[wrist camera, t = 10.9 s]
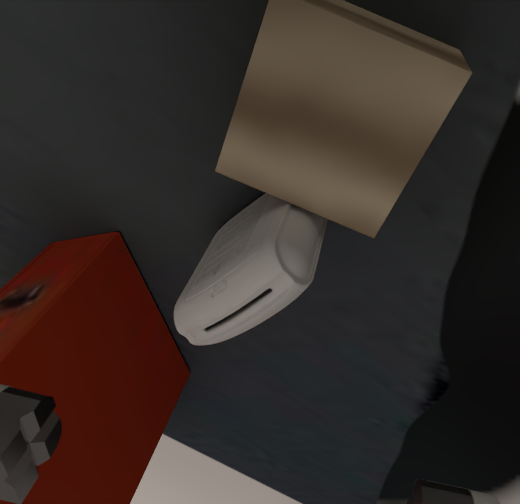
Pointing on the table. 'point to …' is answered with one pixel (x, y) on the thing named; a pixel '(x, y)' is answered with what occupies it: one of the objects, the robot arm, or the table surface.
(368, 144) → the oak box
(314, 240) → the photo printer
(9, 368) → the file binder
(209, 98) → the table surface
